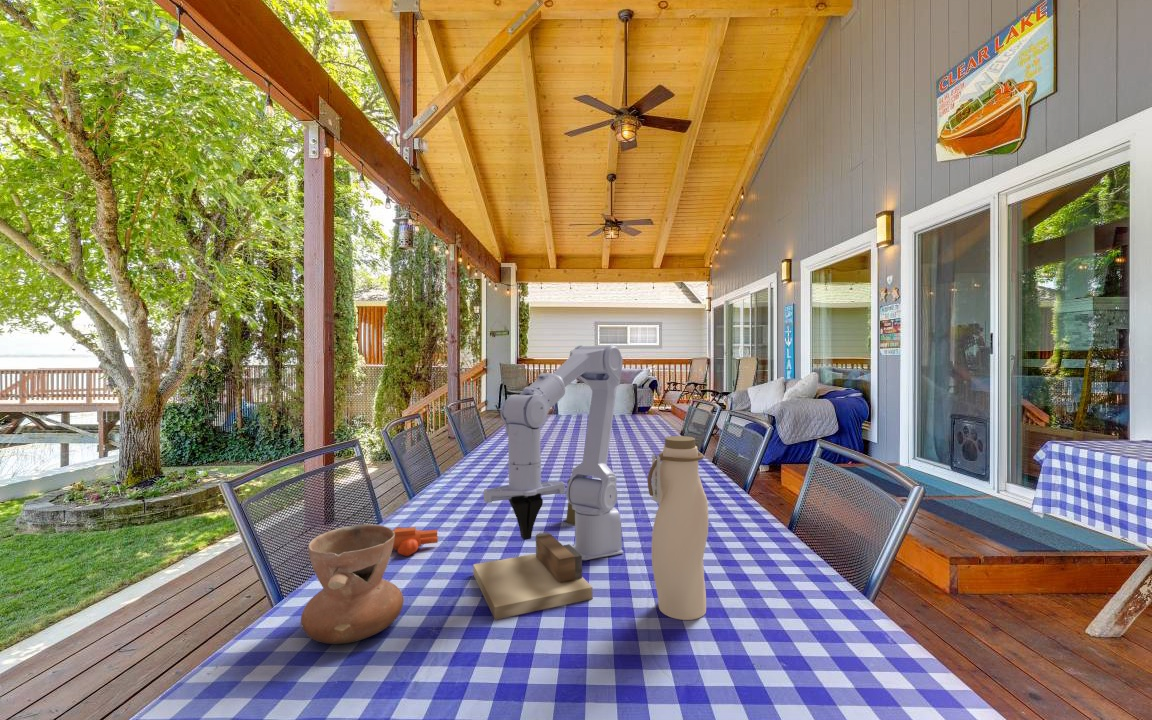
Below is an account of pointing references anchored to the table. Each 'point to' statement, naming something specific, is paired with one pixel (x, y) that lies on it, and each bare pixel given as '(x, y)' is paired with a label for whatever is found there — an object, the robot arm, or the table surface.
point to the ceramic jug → (351, 585)
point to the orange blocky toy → (412, 539)
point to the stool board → (528, 585)
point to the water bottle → (679, 529)
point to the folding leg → (555, 557)
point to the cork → (570, 513)
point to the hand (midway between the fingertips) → (525, 537)
